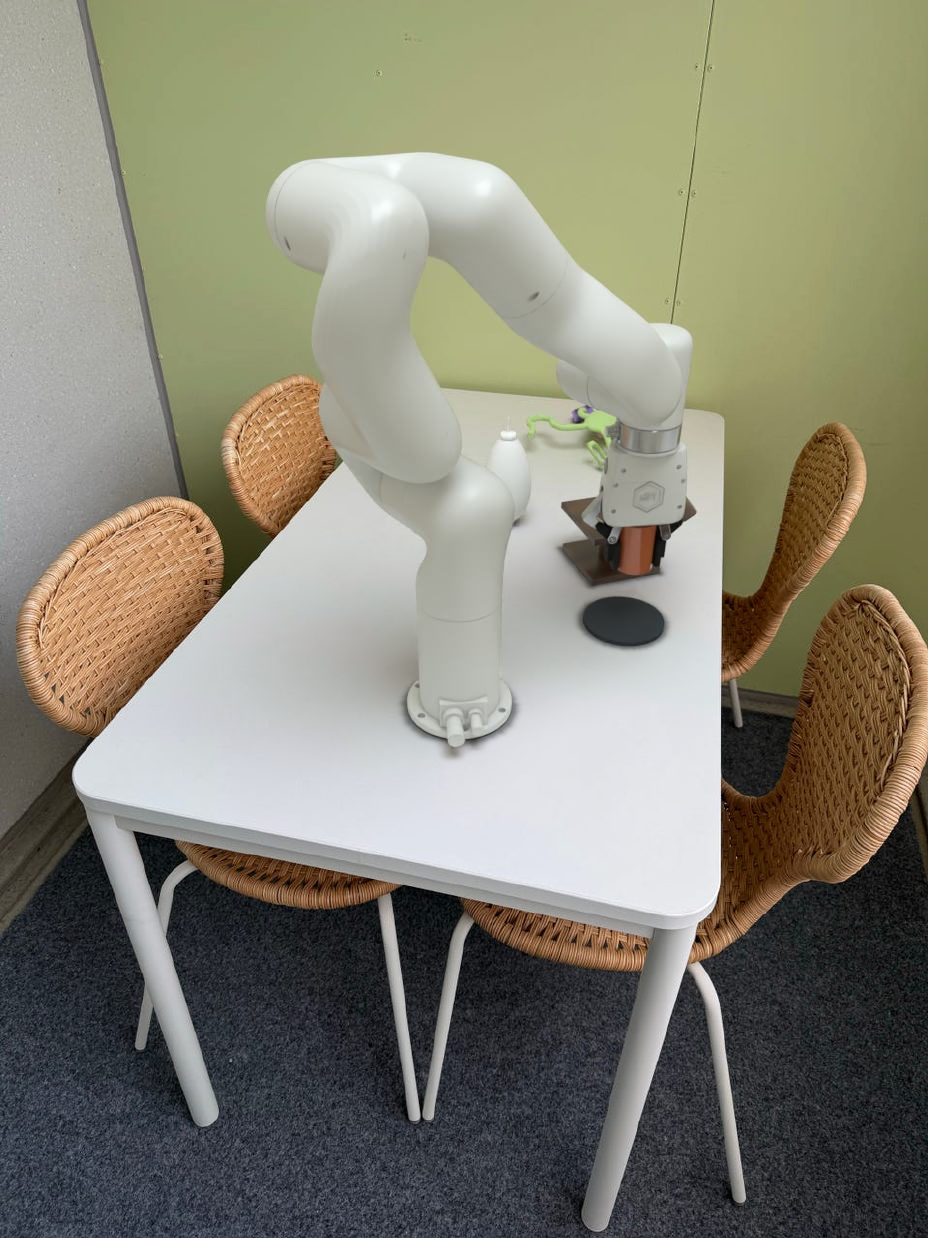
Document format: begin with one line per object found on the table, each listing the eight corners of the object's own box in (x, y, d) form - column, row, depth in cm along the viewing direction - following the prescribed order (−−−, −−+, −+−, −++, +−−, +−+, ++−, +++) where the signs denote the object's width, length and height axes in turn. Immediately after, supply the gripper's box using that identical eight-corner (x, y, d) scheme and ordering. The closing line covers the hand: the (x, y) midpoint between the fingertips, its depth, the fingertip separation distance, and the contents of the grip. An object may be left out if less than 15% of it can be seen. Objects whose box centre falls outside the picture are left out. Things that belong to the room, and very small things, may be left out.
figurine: (511, 448, 166) (512, 421, 162) (589, 408, 182) (591, 382, 179) (593, 476, 156) (595, 447, 153) (667, 431, 172) (671, 404, 169)
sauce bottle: (528, 509, 145) (533, 406, 135) (530, 532, 139) (535, 426, 129) (482, 509, 146) (483, 406, 135) (481, 532, 139) (483, 426, 129)
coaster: (674, 643, 115) (675, 639, 114) (592, 648, 114) (593, 644, 114) (651, 597, 124) (651, 594, 123) (575, 601, 123) (575, 598, 123)
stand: (664, 574, 129) (671, 527, 124) (590, 587, 126) (595, 539, 121) (627, 536, 138) (633, 490, 134) (557, 547, 135) (561, 501, 131)
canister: (655, 574, 112) (662, 526, 108) (619, 576, 112) (624, 529, 108) (645, 554, 116) (651, 508, 112) (610, 557, 116) (615, 510, 112)
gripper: (584, 450, 99) (575, 583, 110) (728, 442, 101) (705, 574, 111) (571, 424, 106) (563, 552, 116) (707, 416, 107) (687, 544, 117)
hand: (633, 561), depth 114 cm, fingers closed on canister, 4 cm apart
